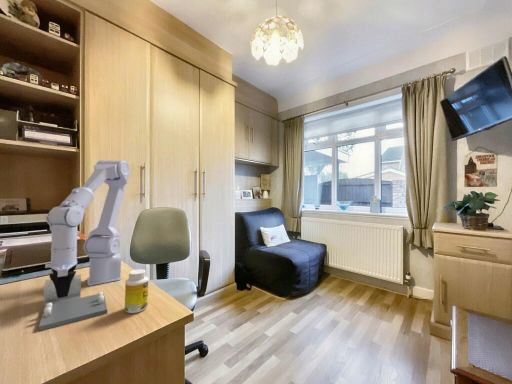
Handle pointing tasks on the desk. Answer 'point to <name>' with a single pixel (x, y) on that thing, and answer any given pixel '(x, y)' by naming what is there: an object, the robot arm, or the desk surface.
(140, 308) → the supplement bottle
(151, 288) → the desk surface
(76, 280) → the block
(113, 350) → the desk surface
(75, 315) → the pin tray
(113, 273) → the robot arm
